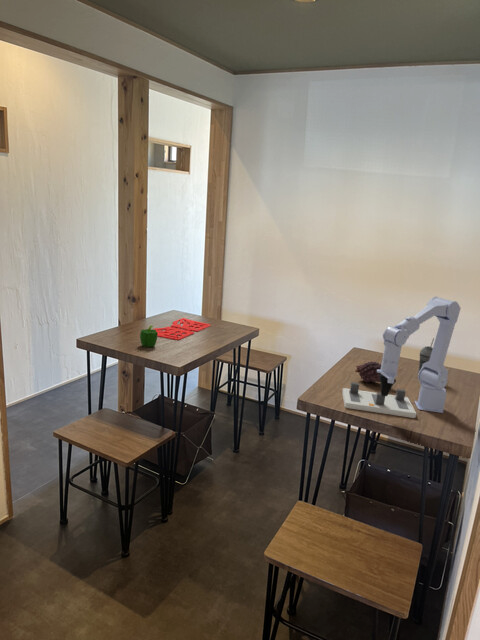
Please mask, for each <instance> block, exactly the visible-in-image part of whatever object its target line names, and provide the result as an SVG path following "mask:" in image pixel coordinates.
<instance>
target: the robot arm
mask: <svg viewBox="0 0 480 640" xmlns="http://www.w3.org/2000/svg"><path fill="white" fill-rule="evenodd" d="M460 312H461V306H460V304H459V303H458V301H456V300H455V301H453V300H449V299H445V298H442V297H439V296H433V297H432V298H431V299H429V300H428V301H427V304H426V306H425V307H424V308H422V309H421V310H420V311H419V312H417V314H415V315H414V316H407V317H405V318H404V319H403V320H402V321H401V322H399V323H397V324H396V325H395V326H390V327H387V328H386V329H385V330H384V332H383V333H382V338H383V345H384V349H383V353H382V360H381V369H380V370H379V369H377V372H378V373H381V374H382V375H379V378H380V382H379V383H380V393H381V395H382V396H388V395H390V391H391V389H392V387H393V385H394V384H395V383H396V382H397V380H396V378H397V376H398V369H399V362H400V358H401V352H402V347H403V346H404V345H405V344H406V343H407V340H408V339H409V337H410V336H411V335H413V334H414V333H415V332H417V331H418V330H419V329H420V327H421V326H420V325H421V324H423V323H425V322H426V321H428V320H430V319H432V318H434V317H435V318H436V319H437V320H438V322H439V326H438V328H437V332H436V335H435V338H434V341H433V345H432V348H433V349H432V353H431V356H430V360H429V361H428V362H426V363H424V364H423V365H422V368H421V370H420V371H419V370H418V371H419V373H417V379H418V381H419V384H420V388H419V393H418V399H417V400H414V403H415V406H416V408H417V409H418V410H421V411H427V412H434V413H439V414H440V413H441V414H443V413H444V410H445V409H444V407H445V404H446V400H447V399H446V398H447V390H446V388H445V387H446V386H447V385H448V384H447V383H448V374H449V370H448V369H447V368H446V366H445V361H446V357H447V354H448V350H449V347H450V343H451V340H452V336H453V333H454V329H455V325H456V323H457V322H458V320H459V315H460Z"/></svg>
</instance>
